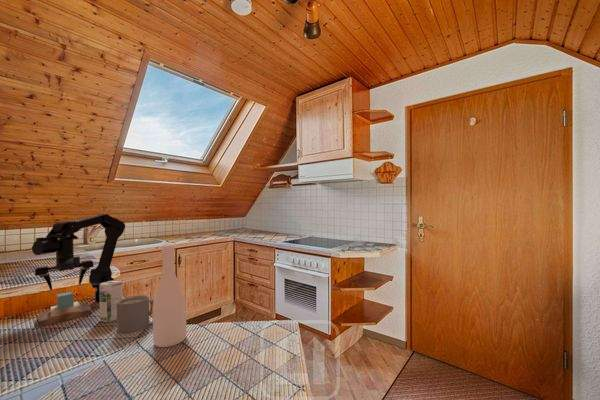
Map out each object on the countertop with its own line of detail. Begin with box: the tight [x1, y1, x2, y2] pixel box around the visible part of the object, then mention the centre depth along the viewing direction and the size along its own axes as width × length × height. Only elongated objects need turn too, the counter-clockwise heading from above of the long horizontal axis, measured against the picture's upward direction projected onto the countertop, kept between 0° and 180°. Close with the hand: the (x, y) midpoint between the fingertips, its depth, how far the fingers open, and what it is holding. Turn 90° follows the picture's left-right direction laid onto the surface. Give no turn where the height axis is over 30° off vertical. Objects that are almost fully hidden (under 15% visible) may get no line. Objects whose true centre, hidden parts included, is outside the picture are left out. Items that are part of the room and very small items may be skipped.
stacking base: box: [37, 301, 93, 328], centre depth 113 cm, size 16×13×4 cm
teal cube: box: [56, 291, 75, 309], centre depth 113 cm, size 5×5×5 cm
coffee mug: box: [116, 294, 154, 335], centre depth 99 cm, size 13×10×10 cm
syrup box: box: [99, 280, 124, 323], centre depth 107 cm, size 6×6×14 cm
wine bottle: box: [152, 244, 188, 348], centre depth 86 cm, size 10×10×30 cm
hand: (65, 287), depth 116 cm, fingers open, 9 cm apart
